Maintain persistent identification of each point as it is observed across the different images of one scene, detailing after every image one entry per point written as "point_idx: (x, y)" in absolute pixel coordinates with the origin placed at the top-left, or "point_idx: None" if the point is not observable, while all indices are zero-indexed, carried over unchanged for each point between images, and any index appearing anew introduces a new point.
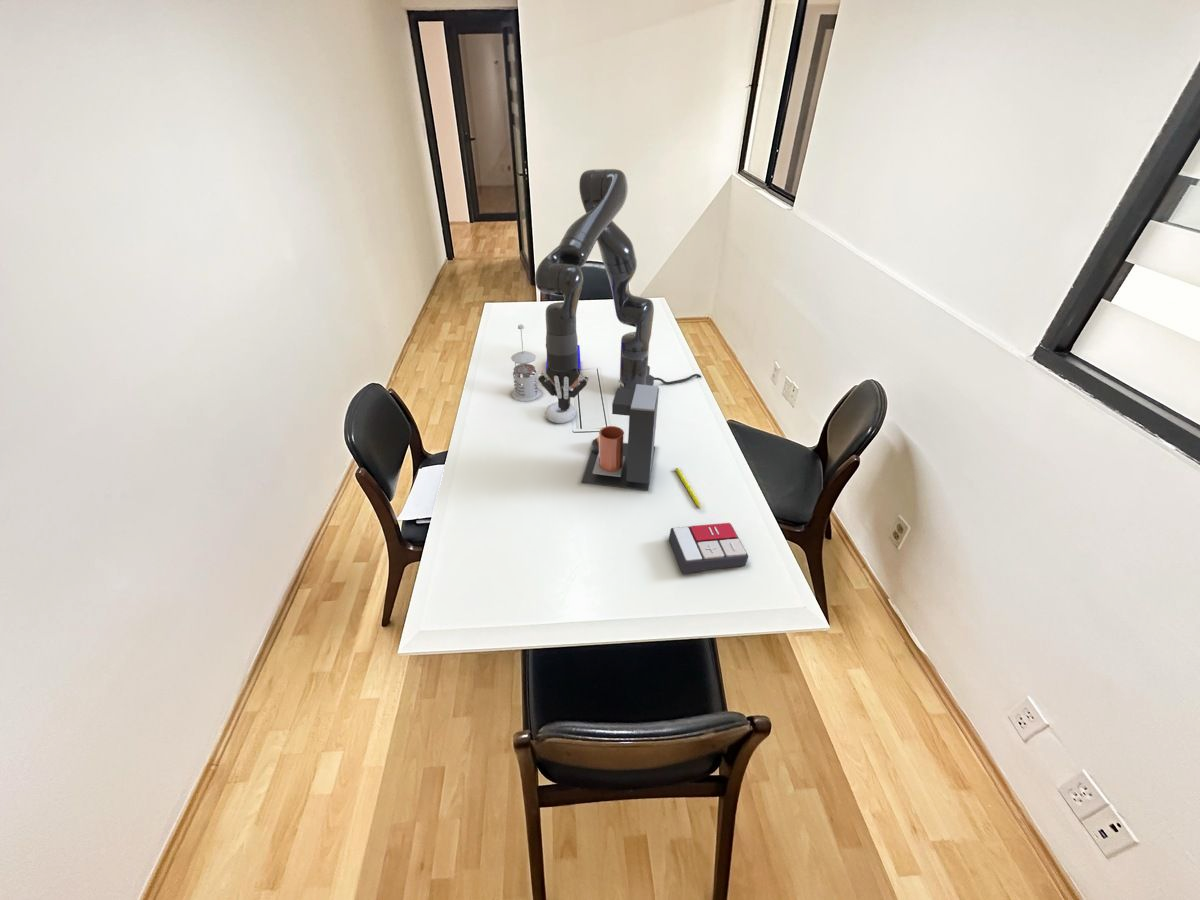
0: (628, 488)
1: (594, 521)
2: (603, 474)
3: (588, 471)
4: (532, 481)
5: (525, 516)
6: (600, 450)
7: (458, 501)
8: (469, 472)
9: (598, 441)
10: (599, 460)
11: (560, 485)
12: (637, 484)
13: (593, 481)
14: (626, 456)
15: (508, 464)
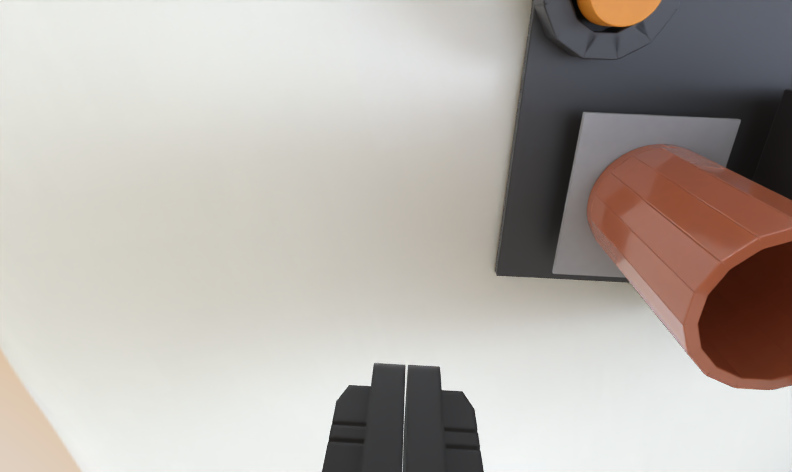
0: None
1: (554, 438)
2: (605, 275)
3: (523, 206)
4: (288, 282)
5: (325, 439)
6: (636, 290)
7: (79, 402)
8: (11, 260)
9: (594, 15)
10: (601, 241)
11: (408, 292)
12: None
13: (548, 269)
14: (735, 51)
15: (139, 187)
